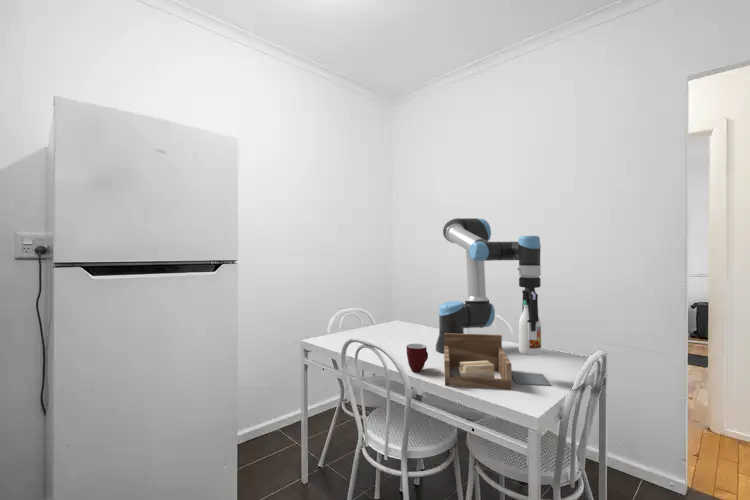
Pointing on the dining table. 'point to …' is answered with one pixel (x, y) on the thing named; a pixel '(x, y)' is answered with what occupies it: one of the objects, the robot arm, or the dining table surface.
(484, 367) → the offcut top
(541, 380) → the mat
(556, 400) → the dining table surface
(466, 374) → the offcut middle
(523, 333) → the milk bottle
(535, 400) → the dining table surface
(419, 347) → the mug
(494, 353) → the rack
